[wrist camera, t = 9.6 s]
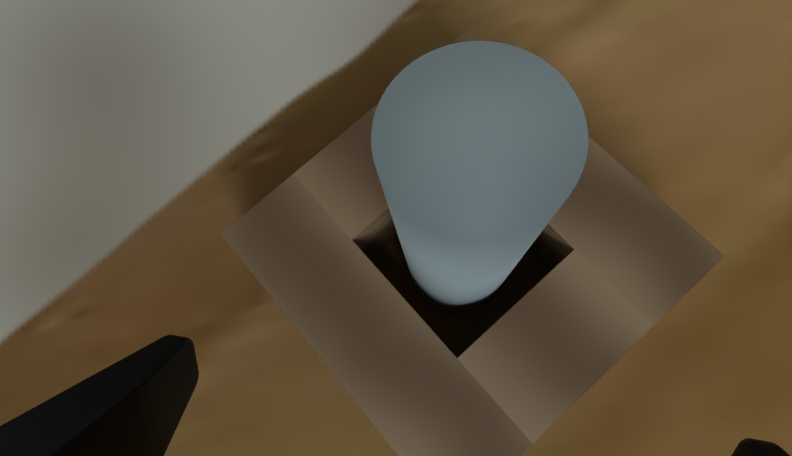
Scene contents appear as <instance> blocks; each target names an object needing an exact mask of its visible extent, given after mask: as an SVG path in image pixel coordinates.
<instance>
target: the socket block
mask: <svg viewBox="0 0 792 456" xmlns="http://www.w3.org/2000/svg"><path fill="white" fill-rule="evenodd" d="M467 41H481V40H480V39H478V38H477V37H476V36H475V35H474V34H473V33H472V32H471V31H469V30H468V29H467V30H466V31H465V32H464V33H462V34H461V35H460V36H459V37H458V38H456V39H455V40H454V41H453V42H452V43H450V44H455V43H460V42H467ZM450 44H449V45H450ZM378 104H379V103H378ZM378 104H377V105H376V106H374V107H373V108H372V109H371V110H369V111H368V112H367V113H366V114H365V115H363V116H362V117H361V118H360V119H359V120H357V121H356V122H355V123H354V124H353V125H351V126H350V127H349V128H348V129H347V130H345V131H344V132H343V133H342V134H341V135H339V136H338V137H337V138H336V139H334V140H333V141H332V142H331V143H330V144H328V145H327V146H326V147H325V148H324V149H322V150H321V151H320V152H319V153H318V154H316V155H315V156H314V157H313V158H312V159H310V160H309V161H308V162H307V163H306V164H304V165H303V166H302V167H301V168H300V169H298V170H297V171H296V172H295V173H293V174H292V175H291V176H290V177H289V178H287V179H286V180H285V181H284V182H283V183H281V184H280V185H279V186H278V187H277V188H275V189H274V190H273V191H272V192H271V193H269V194H268V195H267V196H266V197H265V198H263V199H262V200H261V201H260V202H258V203H257V204H256V205H255V206H254V207H252V208H251V209H250V210H249V211H248V212H246V213H245V214H244V215H243V216H242V217H240V218H239V219H238V220H237V221H236V222H234V223H233V224H232V225H231V226H230V227H228V228H227V229H226V230H225V231H223V232H222V233H221V235H222V236H223V237H224V239H225V240H226V241H227V242H228V244H229V245H230V246H231V247H232V249H233V250H234V251H235V252H236V254H237V255H238V256H239V257H240V259H241V260H242V261H243V262H244V264H245V265H246V266H247V267H248V269H249V270H250V271H251V272H252V274H253V275H254V276H255V277H256V279H257V280H258V281H259V282H260V284H261V285H262V286H263V287H264V289H265V290H266V291H267V292H268V294H269V295H270V296H271V297H272V299H273V300H274V301H275V302H276V304H277V305H278V306H279V307H280V309H281V310H282V311H283V312H284V314H285V315H286V316H287V317H288V319H289V320H290V321H291V322H292V324H293V325H294V326H295V327H296V329H297V330H298V331H299V332H300V334H301V335H302V336H303V337H304V339H305V340H306V341H307V342H308V344H309V345H310V346H311V347H312V349H313V350H314V351H315V352H316V354H317V355H318V356H319V357H320V359H321V360H322V361H323V362H324V364H325V365H326V366H327V367H328V369H329V370H330V371H331V372H332V374H333V375H334V376H335V377H336V379H337V380H338V381H339V382H340V384H341V385H342V386H343V387H344V389H345V390H346V391H347V392H348V394H349V395H350V396H351V397H352V399H353V400H354V401H355V402H356V404H357V405H358V406H359V407H360V409H361V410H362V411H363V412H364V414H365V415H366V416H367V417H368V419H369V420H370V421H371V422H372V424H373V425H374V426H375V427H376V429H377V430H378V431H379V432H380V434H381V435H382V436H383V437H384V439H385V440H386V441H387V442H388V444H389V445H390V446H391V447H392V449H393V450H394V451H395V452H396V454H397V455H398V456H521V455H522V454H523V453H524V452H525V451H526V450H527V449H528V448H529V447H530V446H531V445H532V444H533V443H534V442H535V441H536V440H537V439H538V438H539V437H540V436H541V435H542V434H543V433H544V432H545V431H547V430H548V429H549V428H550V427H551V426H552V425H553V424H554V423H555V422H556V421H557V420H558V419H559V418H560V417H561V416H562V415H563V414H564V413H565V412H566V411H567V410H568V409H569V408H570V407H571V406H572V405H573V404H574V403H575V402H576V401H577V400H578V399H579V398H580V397H581V396H582V395H583V394H584V393H585V392H586V391H587V390H588V389H589V388H590V387H591V386H592V385H594V384H595V383H596V382H597V381H598V380H599V379H600V378H601V377H602V376H603V375H604V374H605V373H606V372H607V371H608V370H609V369H610V368H611V367H612V366H613V365H614V364H615V363H616V362H617V361H618V360H619V359H620V358H621V357H622V356H623V355H624V354H625V353H626V352H627V351H628V350H629V349H630V348H631V347H632V346H633V345H634V344H635V343H636V342H637V341H638V340H639V339H641V338H642V337H643V336H644V335H645V334H646V333H647V332H648V331H649V330H650V329H651V328H652V327H653V326H654V325H655V324H656V323H657V322H658V321H659V320H660V319H661V318H662V317H663V316H664V315H665V314H666V313H667V312H668V311H669V310H670V309H671V308H672V307H673V306H674V305H675V304H676V303H677V302H678V301H679V300H680V299H681V298H682V297H683V296H684V295H685V294H686V293H688V292H689V291H690V290H691V289H692V288H693V287H694V286H695V285H696V284H697V283H698V282H699V281H700V280H701V279H702V278H703V277H704V276H705V275H706V274H707V273H708V272H709V271H710V270H711V269H712V268H713V267H714V266H715V265H716V264H717V263H718V262H719V261H720V260H721V259H722V258H723V257H724V255H723V254H722V253H721V252H720V251H718V250H717V249H716V248H715V247H714V246H713V245H712V244H711V243H709V242H708V241H707V240H706V239H705V238H704V237H703V236H701V235H700V234H699V233H698V232H697V231H696V230H695V229H694V228H692V227H691V226H690V225H689V224H688V223H687V222H686V221H684V220H683V219H682V218H681V217H680V216H679V215H678V214H677V213H675V212H674V211H673V210H672V209H671V208H670V207H669V206H667V205H666V204H665V203H664V202H663V201H662V200H661V199H660V198H658V197H657V196H656V195H655V194H654V193H653V192H652V191H651V190H649V189H648V188H647V187H646V186H645V185H644V184H643V183H641V182H640V181H639V180H638V179H637V178H636V177H635V176H634V175H632V174H631V173H630V172H629V171H628V170H627V169H626V168H624V167H623V166H622V165H621V164H620V163H619V162H618V161H617V160H615V159H614V158H613V157H612V156H611V155H610V154H609V153H607V152H606V151H605V150H604V149H603V148H602V147H601V146H600V145H598V144H597V143H596V142H595V141H594V140H593V139H592V138H591V137H589V136H588V151H587V158H586V162H585V165H584V169H583V172H582V174H581V176H580V178H579V181H578V183H577V185H576V186H575V188H574V189H573V191H572V192H571V194H570V195H569V197H568V198H567V199H566V201H565V202H564V203H563V205H562V206H561V207H560V208H559V210H558V211H557V212H556V214H555V215H554V216H553V218H552V219H551V220H550V222H549V223H548V224H547V225H546V227H545V228H544V229H543V231H542V232H541V233H540V235H539V236H538V237H537V239H536V240H535V241H534V242H533V244H532V245H531V246H530V247H531V248H532V249H533V250H534V251H535V252H536V253H537V254H538V255H539V256H540V257H541V258H542V259H543V260H544V261H545V262H546V263H547V264H548V265H549V266H550V267H551V268H552V269H551V270H550V271H549V272H548V273H547V274H546V275H544V276H543V277H542V278H541V279H540V280H539V281H538V282H537V283H536V284H535V285H534V286H533V287H532V288H530V289H529V290H528V291H527V292H526V293H525V294H524V295H523V296H522V297H521V298H520V299H519V300H518V301H516V302H515V303H514V304H513V305H512V306H511V307H510V308H509V309H508V310H507V311H506V312H505V313H504V314H502V315H501V316H500V317H499V318H498V319H497V320H496V321H495V322H494V323H493V324H492V325H491V326H490V327H488V328H487V329H486V330H485V331H484V332H483V333H482V334H481V335H480V336H479V337H478V338H477V339H476V340H474V341H473V342H472V343H471V344H470V345H469V346H468V347H467V348H466V349H465V350H464V351H463V352H462V353H460V354H459V355H458V356H457V357H455V355H454V354H453V353H452V352H451V351H450V350H449V349H448V348H447V346H446V345H445V344H444V343H443V342H442V341H441V340H440V339H439V337H438V336H437V335H436V334H435V333H434V332H433V331H432V330H431V328H430V327H429V326H428V325H427V324H426V323H425V322H424V321H423V319H422V318H421V317H420V316H419V315H418V314H417V313H416V311H415V310H414V309H413V308H412V307H411V306H410V305H409V304H408V302H407V301H406V300H405V299H404V298H403V297H402V296H401V295H400V293H399V292H398V291H397V290H396V289H395V288H394V287H393V286H392V284H391V283H390V282H389V281H388V280H387V279H386V278H385V277H384V275H383V274H382V273H381V272H380V271H379V270H378V269H377V268H376V266H375V265H374V264H373V263H372V262H371V261H370V260H369V259H368V257H369V256H370V255H371V254H372V253H374V252H375V251H376V250H377V249H378V248H379V247H380V246H382V245H383V244H384V243H385V242H386V241H387V240H388V239H390V238H391V237H392V236H393V235H394V234H395V233H396V232H397V231H396V228H395V225H394V222H393V219H392V216H391V213H390V210H389V207H388V204H387V201H386V198H385V194H384V191H383V188H382V185H381V182H380V179H379V176H378V173H377V170H376V167H375V164H374V161H373V155H372V149H371V131H372V123H373V119H374V115H375V111H376V108H377V106H378Z"/></svg>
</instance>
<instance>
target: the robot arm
mask: <svg viewBox="0 0 792 456" xmlns="http://www.w3.org/2000/svg"><path fill="white" fill-rule="evenodd" d="M198 375H199V371H198V365H197V360H196V355H195V349H194V344H193V342H192V340H191V339H189V338H187V337H181V336H175V335H167V336H164V337H162V338H160V339H158V340H156V341H155V342H153V343H151V344H149V345H147V346H145V347H144V348H142V349H140V350H138V351H136V352H135V353H133V354H131V355H129V356H127V357H125V358H124V359H122V360H120V361H118V362H116V363H114V364H113V365H111V366H109V367H107V368H105V369H103V370H102V371H100V372H98V373H96V374H94V375H93V376H91V377H89V378H87V379H85V380H83V381H82V382H80V383H78V384H76V385H74V386H72V387H71V388H69V389H67V390H65V391H63V392H62V393H60V394H58V395H56V396H54V397H52V398H51V399H49V400H47V401H45V402H43V403H41V404H40V405H38V406H36V407H34V408H32V409H31V410H29V411H27V412H25V413H23V414H21V415H20V416H18V417H16V418H14V419H12V420H10V421H9V422H7V423H5V424H3V425H1V426H0V456H164V454H165V452H166V450H167V447H168V445H169V443H170V441H171V439H172V437H173V434H174V432H175V430H176V428H177V426H178V424H179V421H180V419H181V417H182V415H183V413H184V411H185V408H186V406H187V404H188V402H189V400H190V398H191V395H192V393H193V391H194V389H195V387H196V384H197V381H198ZM731 456H790V455H789V454H788V453H786V452H785V451H784V450H783V449H782V448H781V447H779V446H778V445H776V444H774V443H772V442H767V441H762V440H756V439H751V438H746V439H744V440H742V441H741V442H740V443H739V444H738V446H737V447H736V449H735V451H734V452H733V454H732V455H731Z"/></svg>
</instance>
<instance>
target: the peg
mask: <svg viewBox="0 0 792 456" xmlns="http://www.w3.org/2000/svg"><path fill="white" fill-rule="evenodd" d="M371 149H372V155H373V161H374V164H375V167H376V170H377V173H378V176H379V179H380V182H381V185H382V188H383V191H384V194H385V198H386V201H387V204H388V207H389V210H390V213H391V216H392V219H393V222H394V225H395V228H396V231H397V234H398V237H399V240H400V243H401V246H402V249H403V253H404V256H405V259H406V262H407V265H408V268H409V271H410V274H411V277H412V280H413V283H414V285H415V287H416V289H417V290H418V292H419V293H420V294H421V295H422V296H423V298H425V299H426V300H427V301H428V302H429V303H431V304H432V305H434V306H436V307H438V308H441V309H443V310H448V311H455V312H459V311H467V310H471V309H474V308H477V307H479V306H481V305H482V304H484V303H485V302H487V301H488V300H489V299H490V298H491V297H492V296H493V295H494V293H495V292H496V291H497V290H498V288H499V287H500V286H501V284H502V283H503V282H504V280H505V279H506V278H507V276H508V275H509V274H510V273H511V271H512V270H513V269H514V267H515V266H516V265H517V263H518V262H519V261H520V259H521V258H522V257H523V256H524V254H525V253H526V252H527V250H528V249H529V248H530V246H531V245H532V244H533V242H534V241H535V240H536V239H537V237H538V236H539V235H540V233H541V232H542V231H543V229H544V228H545V227H546V225H547V224H548V223H549V222H550V220H551V219H552V218H553V216H554V215H555V214H556V212H557V211H558V210H559V208H560V207H561V206H562V205H563V203H564V202H565V201H566V199H567V198H568V197H569V195H570V194H571V192H572V191H573V189H574V188H575V186H576V185H577V183H578V181H579V178H580V176H581V174H582V172H583V169H584V165H585V162H586V158H587V151H588V128H587V122H586V117H585V114H584V111H583V108H582V105H581V103H580V101H579V99H578V97H577V95H576V93H575V92H574V90H573V89H572V87H571V85H570V84H569V83H568V82H567V80H566V79H565V78H564V77H563V76H562V75H561V74H560V73H559V72H558V71H557V70H556V69H555V68H554V67H553V66H552V65H550V64H549V63H547V62H546V61H544V60H543V59H542V58H540V57H538V56H536V55H534V54H533V53H531V52H529V51H526V50H524V49H521V48H519V47H516V46H512V45H508V44H505V43H499V42H492V41H467V42H460V43H455V44H450V45H447V46H443V47H440V48H437V49H435V50H433V51H431V52H428V53H426V54H424V55H423V56H421V57H419V58H418V59H416V60H414V61H413V62H412V63H410V64H409V65H408V66H406V67H405V68H404V69H403V70H402V71H401V72H400V73H399V74H398V75H397V76H396V77H395V78H394V79H393V81H392V82H391V83H390V84H389V86H388V87H387V88H386V90H385V92H384V94H383V95H382V97H381V99H380V101H379V104H378V106H377V108H376V111H375V115H374V119H373V123H372V131H371Z"/></svg>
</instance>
